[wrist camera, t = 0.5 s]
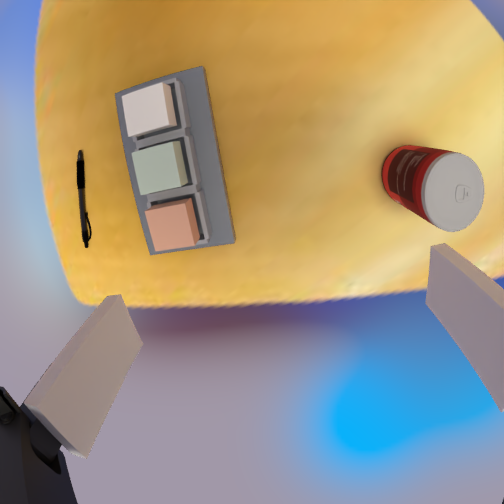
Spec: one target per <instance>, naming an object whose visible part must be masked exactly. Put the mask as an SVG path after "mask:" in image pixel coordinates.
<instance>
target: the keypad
mask: <svg viewBox="0 0 504 504" xmlns="http://www.w3.org/2000/svg"><path fill="white" fill-rule="evenodd" d="M162 82H163V83H165V84H167V85H169V86H170V87H171V94H172V100H173V106H174V111H175V117H176V123H177V126H174V127H170V128H166V129H162V130H159V131H155V132H152V133H148V134H145V135H141V136H136V137H128V132H127V127H126V121H125V115H124V108H123V102H122V96H123V95H126V94H129V93H132V92H134V91H137V90H140V89H143V88H146V87H149V86H152V85H155V84H158V83H162ZM115 98H116V105H117V112H118V118H119V124H120V130H121V135H122V141H123V146H124V151H125V156H126V161H127V166H128V171H129V175H130V180H131V184H132V188H133V193H134V197H135V201H136V205H137V209H138V213H139V216H140V220H141V224H142V228H143V231H144V235H145V238H146V242H147V245H148V249H149V252H150V255H155V254H162V253H169V252H176V251H183V250H190V249H197V248H204V247H211V246H218V245H225V244H232V243H235V240H236V237H235V232H234V227H233V222H232V216H231V211H230V206H229V200H228V195H227V190H226V184H225V179H224V173H223V168H222V163H221V157H220V152H219V146H218V140H217V135H216V129H215V124H214V118H213V112H212V107H211V101H210V95H209V89H208V84H207V78H206V72H205V68H204V67H203V66H201V67H196V68H192V69H189V70H185V71H181V72H177V73H174V74H170V75H167V76H164V77H160V78H157V79H154V80H151V81H148V82H145V83H142V84H139V85H136V86H133V87H131V88H128V89H125V90H123V91H120V92H118V93H115ZM174 141H180V145H181V150H182V155H183V160H184V165H185V170H186V175H187V180H188V183H186V184H185V185H183V186H181V187H177V188H172V189H167V190H162V191H158V192H153V193H149V194H145V195H141V194H140V190H139V186H138V182H137V177H136V173H135V168H134V163H133V158H132V153H133V152H136V151H140V150H143V149H147V148H150V147H154V146H157V145H161V144H165V143H169V142H174ZM188 198H191V199H192V204H193V208H194V213H195V217H196V222H197V226H198V231H199V235H200V238H199V240H198V242H197V243H196V245H195V246H190V247H183V248H176V249H169V250H163V251H155V248H154V244H153V241H152V237H151V233H150V230H149V226H148V222H147V219H146V215H145V211H146V210H147V209H149V208H150V207H152V206H153V205H158V204H162V203H167V202H172V201H178V200H183V199H188Z"/></svg>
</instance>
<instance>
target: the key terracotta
mask: <svg viewBox="0 0 504 504" xmlns="http://www.w3.org/2000/svg"><path fill="white" fill-rule="evenodd" d="M145 215H146V219H147V222H148V226H149V230H150V233H151V237H152V241H153V244H154V248H155V251H163V250H169V249H176V248H183V247H190V246H195V245H196V243H197V242H198V240H199V238H200V235H199V231H198V226H197V222H196V217H195V213H194V208H193V204H192V199H191V198H188V199H183V200H178V201H172V202H167V203H162V204H158V205H153V206H152V207H150V208H149V209H147V210H146V211H145Z"/></svg>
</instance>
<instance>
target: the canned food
mask: <svg viewBox="0 0 504 504" xmlns="http://www.w3.org/2000/svg"><path fill="white" fill-rule="evenodd" d="M382 179H383V183H384V187H385V189H386V191H387V193H388V194H389V195H390V197H391V198H392V199H393V200H394V201H396V202H397V203H399V204H401V205H402V206H404V207H406V208H407V209H409V210H411V211H412V212H414V213H415V214H417V215H419V216H420V217H422V218H423V219H425V220H426V221H428V222H430V223H431V224H433V225H435V226H436V227H438V228H440V229H442V230H445V231H448V232H455V231H460V230H462V229H464V228H466V227H467V226H469V225H470V224H471V223H472V222H473V221H474V220H475V218H476V217H477V215H478V214H479V211H480V209H481V207H482V203H483V199H484V182H483V177H482V174H481V172H480V170H479V168H478V166H477V165H476V163H475V162H474V161H473V160H472V159H471V158H469V157H468V156H466V155H463V154H461V153H457V152H452V151H447V150H441V149H434V148H427V147H420V146H412V145H408V146H402V147H399V148H398V149H396V150H394V151H393V152H392V153H391V154H390V155H389V156H388V157H387V159H386V161H385V163H384V166H383V170H382Z"/></svg>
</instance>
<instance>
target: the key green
mask: <svg viewBox="0 0 504 504" xmlns="http://www.w3.org/2000/svg"><path fill="white" fill-rule="evenodd" d="M132 158H133V163H134V168H135V173H136V177H137V182H138V186H139V190H140V194H141V195H145V194H149V193H153V192H158V191H162V190H167V189H172V188H177V187H181V186H183V185H185V184H186V183H188V180H187V175H186V170H185V165H184V160H183V155H182V150H181V145H180V141H174V142H169V143H165V144H161V145H157V146H154V147H150V148H147V149H143V150H140V151H136V152H133V153H132Z"/></svg>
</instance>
